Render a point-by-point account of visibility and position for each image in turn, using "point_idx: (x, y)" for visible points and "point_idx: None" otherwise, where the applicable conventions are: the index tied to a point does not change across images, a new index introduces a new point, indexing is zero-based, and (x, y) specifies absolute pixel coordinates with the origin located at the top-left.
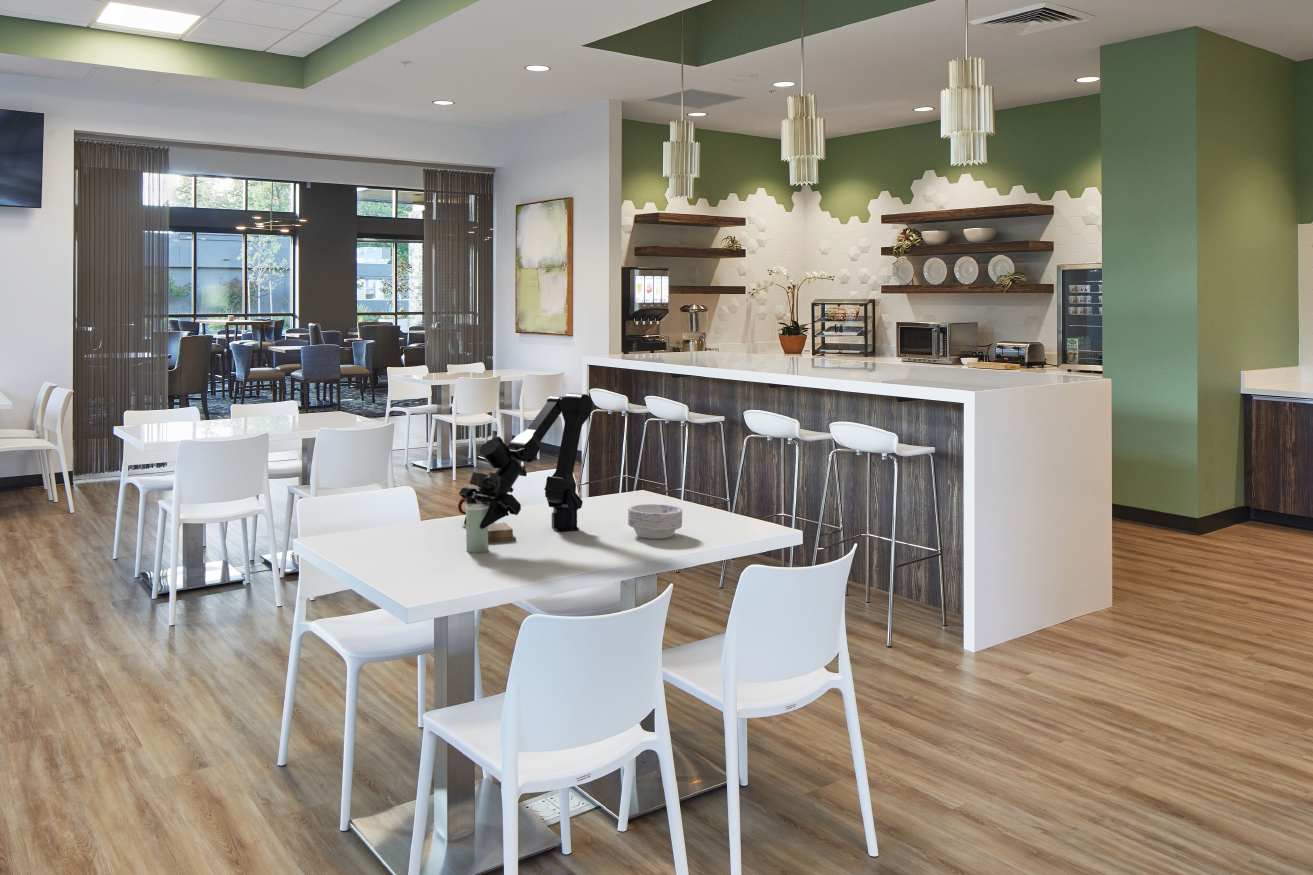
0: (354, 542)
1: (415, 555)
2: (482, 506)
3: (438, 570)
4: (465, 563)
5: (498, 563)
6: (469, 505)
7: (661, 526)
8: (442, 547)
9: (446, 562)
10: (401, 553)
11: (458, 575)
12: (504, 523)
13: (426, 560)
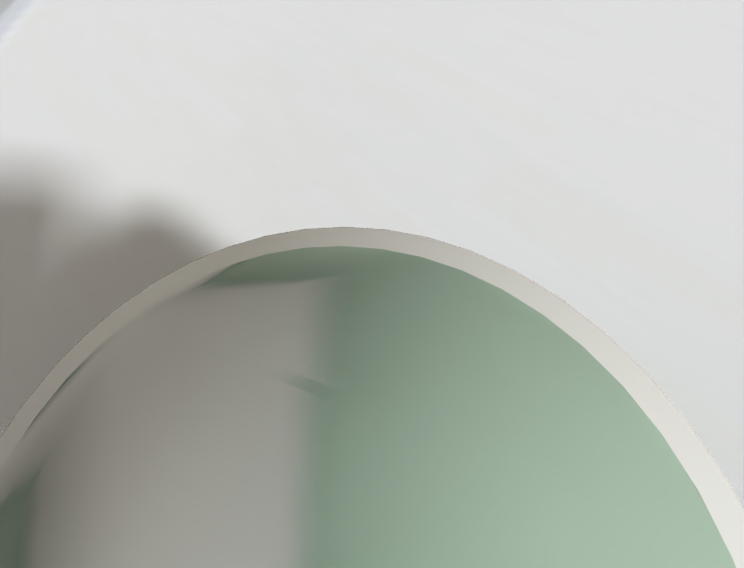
0: None
1: (618, 150)
2: (20, 554)
3: (289, 74)
4: (262, 205)
5: (114, 302)
6: (493, 429)
7: None
8: (706, 392)
9: (355, 163)
10: (731, 129)
11: (175, 82)
12: None
13: (470, 128)
